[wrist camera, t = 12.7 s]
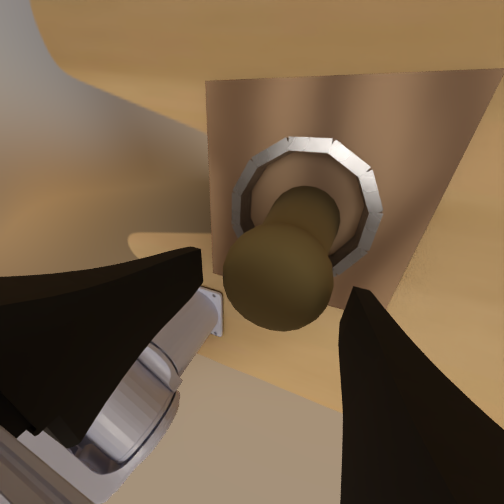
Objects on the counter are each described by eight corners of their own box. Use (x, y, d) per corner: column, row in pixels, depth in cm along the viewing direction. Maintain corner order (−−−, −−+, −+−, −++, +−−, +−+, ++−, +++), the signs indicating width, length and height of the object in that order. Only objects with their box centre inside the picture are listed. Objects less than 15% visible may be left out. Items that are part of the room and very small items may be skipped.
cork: (282, 258, 20) (234, 351, 10) (260, 200, 18) (179, 249, 9) (348, 244, 17) (363, 355, 8) (329, 173, 15) (319, 205, 6)
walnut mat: (215, 270, 24) (213, 273, 24) (209, 83, 16) (205, 80, 15) (379, 315, 19) (380, 320, 19) (498, 71, 11) (506, 68, 10)
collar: (241, 253, 21) (231, 264, 19) (245, 136, 16) (232, 133, 14) (350, 279, 18) (352, 295, 16) (398, 143, 13) (410, 141, 11)
